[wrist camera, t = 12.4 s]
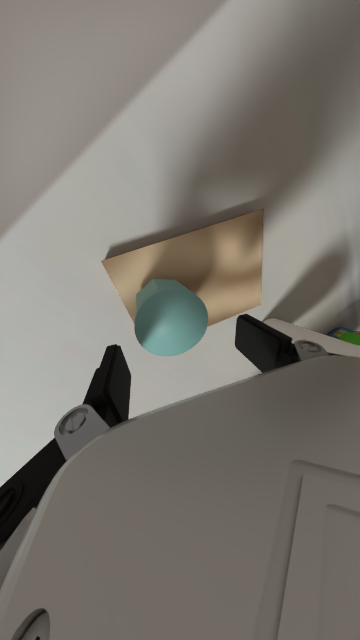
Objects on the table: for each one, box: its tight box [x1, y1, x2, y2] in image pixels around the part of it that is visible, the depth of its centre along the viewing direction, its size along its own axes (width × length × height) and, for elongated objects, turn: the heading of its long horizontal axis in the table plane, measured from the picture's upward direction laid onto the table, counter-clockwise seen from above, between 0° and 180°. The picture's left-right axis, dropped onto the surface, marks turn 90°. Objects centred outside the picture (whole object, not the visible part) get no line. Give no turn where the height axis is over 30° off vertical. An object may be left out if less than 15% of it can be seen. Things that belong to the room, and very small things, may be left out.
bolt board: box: [101, 209, 264, 327], centre depth 16 cm, size 12×18×6 cm, turn 106°
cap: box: [135, 279, 208, 356], centre depth 14 cm, size 6×6×5 cm
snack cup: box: [327, 328, 360, 346], centre depth 31 cm, size 16×10×10 cm
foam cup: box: [263, 318, 360, 358], centre depth 21 cm, size 10×9×13 cm
